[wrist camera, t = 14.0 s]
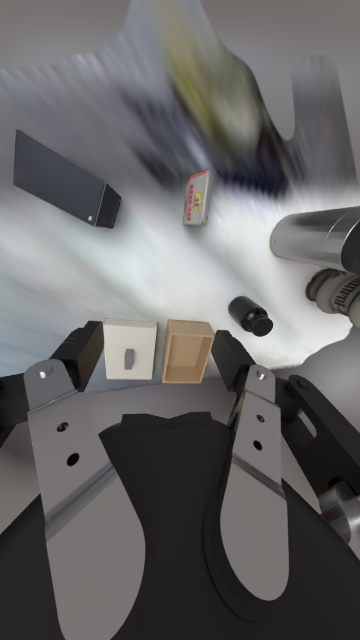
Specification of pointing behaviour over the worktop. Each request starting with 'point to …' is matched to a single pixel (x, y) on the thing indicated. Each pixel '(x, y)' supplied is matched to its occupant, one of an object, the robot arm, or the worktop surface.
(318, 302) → the apothecary jar
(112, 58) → the worktop surface
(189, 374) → the box
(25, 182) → the small box
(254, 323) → the supplement bottle
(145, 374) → the mailer lid
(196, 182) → the printed product carton
